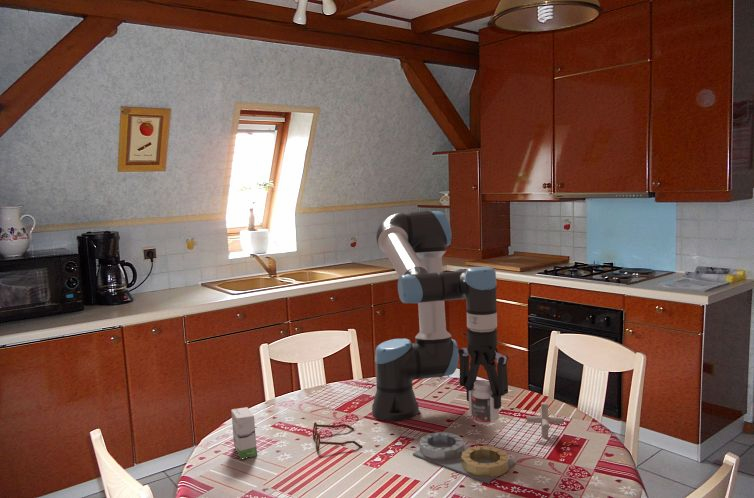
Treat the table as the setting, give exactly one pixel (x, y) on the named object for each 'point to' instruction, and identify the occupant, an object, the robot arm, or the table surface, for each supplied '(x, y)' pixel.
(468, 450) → the brass socket
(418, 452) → the slate board
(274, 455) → the table surface
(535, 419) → the pipe connector
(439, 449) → the grey socket
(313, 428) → the glasses
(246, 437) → the ink box
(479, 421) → the pill bottle
